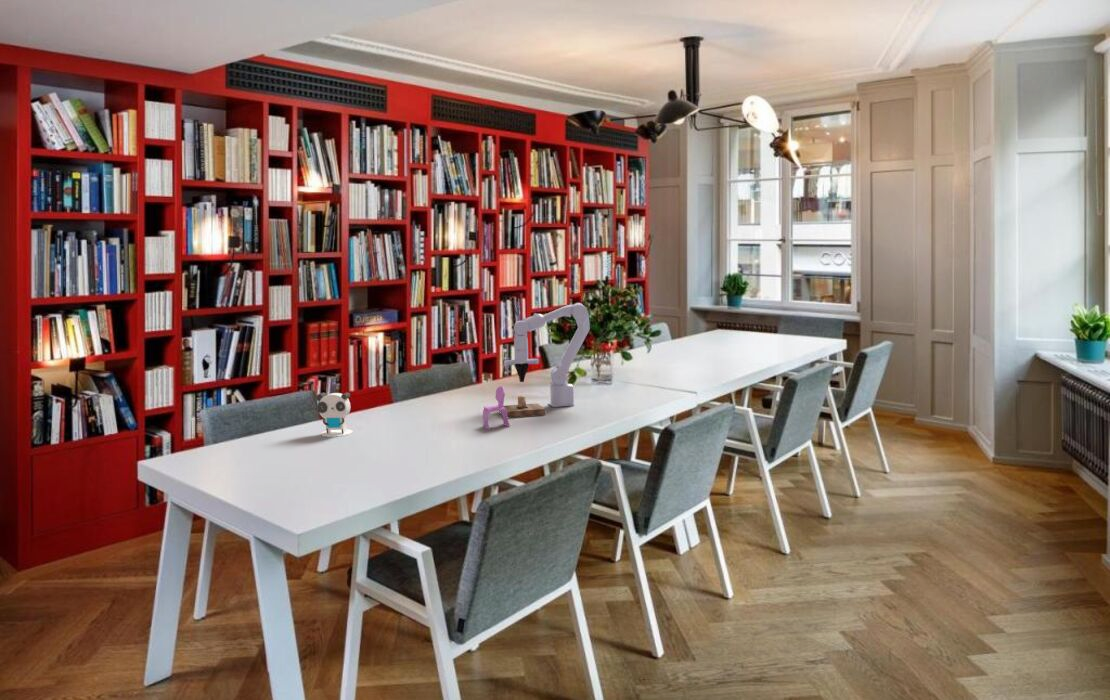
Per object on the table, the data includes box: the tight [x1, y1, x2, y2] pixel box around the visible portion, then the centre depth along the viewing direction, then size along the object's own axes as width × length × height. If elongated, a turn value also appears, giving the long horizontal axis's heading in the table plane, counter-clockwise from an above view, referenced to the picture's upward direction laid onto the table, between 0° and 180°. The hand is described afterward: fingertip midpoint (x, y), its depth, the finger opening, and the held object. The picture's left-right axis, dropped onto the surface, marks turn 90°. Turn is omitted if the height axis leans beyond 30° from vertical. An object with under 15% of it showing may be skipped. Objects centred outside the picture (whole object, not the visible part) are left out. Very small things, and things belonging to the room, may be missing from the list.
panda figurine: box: [316, 392, 353, 438], centre depth 298 cm, size 12×11×15 cm
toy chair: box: [482, 386, 511, 430], centre depth 305 cm, size 8×9×15 cm
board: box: [498, 403, 546, 418], centre depth 328 cm, size 16×12×2 cm
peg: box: [517, 395, 527, 409], centre depth 328 cm, size 3×3×7 cm
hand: (521, 381), depth 343 cm, fingers closed
